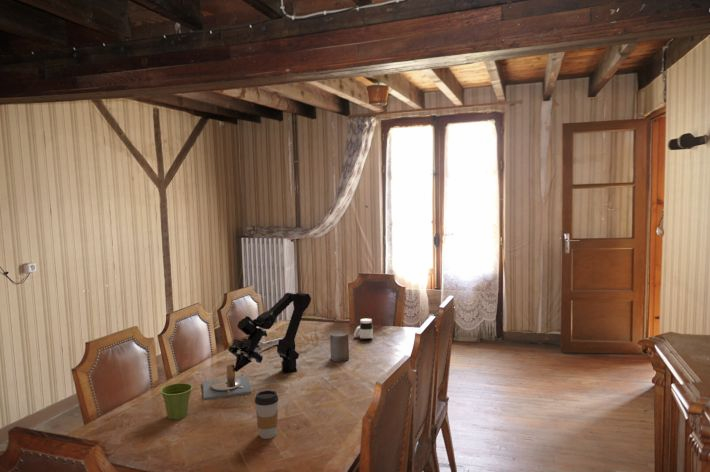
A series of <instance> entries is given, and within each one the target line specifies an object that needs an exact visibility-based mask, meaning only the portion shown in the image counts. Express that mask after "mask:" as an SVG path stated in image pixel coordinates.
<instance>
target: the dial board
mask: <svg viewBox="0 0 710 472" xmlns="http://www.w3.org/2000/svg"><path fill="white" fill-rule="evenodd" d="M235 378H238V379H240V380H241V386H239V387H238V388H236V389H233V390H228V391H215V390H213V389H212V388H211V384H212V382H214V381H215V380H218V379H219V378H218V379H211V380H210V379H209V380H203V381H202V393H203V401H208V400H215V399H216V400H217V399H223V398H230V397H236V396H242V395H249V394H252V392H253V391H252V388H251V385H250V382H249V380H248V376H247V375H241V376H235Z"/></svg>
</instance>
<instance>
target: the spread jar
mask: <svg viewBox="0 0 710 472" xmlns="http://www.w3.org/2000/svg"><path fill="white" fill-rule="evenodd" d="M359 322H360V324H359V325H358V326H357V327H356V328H355V330H354V333H353V337H355V338H358V337H359V338H360V341H361V340H362V341H364V342H365V341H372V340H373V338H374V336H373V335H374V331H373V330H374V329H373V328H374V326H373V319H372V318H360V321H359Z"/></svg>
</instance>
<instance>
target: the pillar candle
mask: <svg viewBox="0 0 710 472" xmlns="http://www.w3.org/2000/svg"><path fill="white" fill-rule="evenodd" d="M329 341H330V343H329V346H330V360H331V361H333V362H336V363H337V362H338V363H339V362H340V363H342V362H346V361H348V360H350V353H349V352H350V350H349V348H350V346H349V345H350V343H349V332H348V331H345V330H338V331H337V330H336V331H332V332H330V333H329Z"/></svg>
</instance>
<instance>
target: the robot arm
mask: <svg viewBox="0 0 710 472" xmlns="http://www.w3.org/2000/svg"><path fill="white" fill-rule="evenodd" d="M311 301H312V298H311V295H310V294H309V293H305V292H296V293H294V292H293V293H292V292H285V293H284V295H283V296H282V297H281V298H280V299H279V300H278V301H277V302H276V303H274V305H273V306H272V307H271V308H270V309H269V310H266V311H264V312H262V313H261V314H259V315H257V317H256V318H254V319H252V318H251V317H250V316H248V315H247V316H246V315H245V317H243V318H242V319H241V320H240V321H239V322H238V323H237V329H238V330H239V331H240V332H242V333H243V334H245V335H246V336H248V337H245V338H243V339H242V340H241V339H238V338H237V339H236V338H234V339H233V341H232V345H230V346H229V347H228V349H227V351H228V352H229V353H231V354H232V355H233V356H235V358H236V361H235V373H237V372H239V371H240V370H241V369H243V368H245V366H247V365H248V364H250V363H253V361H252V360H253V359H254V360H255V361H256V363H259V364H261V363H262V361H263V358H264V357H263V355H261V354H260V353H259V354H258V353H257V352H255V349H256V348H259V345H258V344H259V342H261V341H262V338H263V337H264V338H265V337H266V338H267V337H268V333H267V330H270V329H271V328H272V327H273V326H274V324H275V323H276V319H277V318H278V317H279V316H280V314H281V313H283V312H284V310H286V309H287V308H288V306H290V304H291V303H292V305H293V306H292V307H293V310H292V314H291V316H290V317H291V318H290V320H289V323H288V326H287V329H286V332H285V335H284V337H282V338H283V339H282V340H281V339H280V340H279V343H278V344H277V345H276V348H277V349H276V352H277V354H278V356H279V358H281V359H282V360H281V361H280V365H281V367H280V368H281V371H282V372H283V373H284V374H289V373H294V372H298V369H297V360H298V359H299V357H300V354H299V353H298V352H297V351H296V339H295V338H296V336H297V334H298V330H299V328H300V327H299V326H300V324H301V320H302V317H303V315H304V312H305V311H306V309H308V308H309V305H310V303H311Z"/></svg>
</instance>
